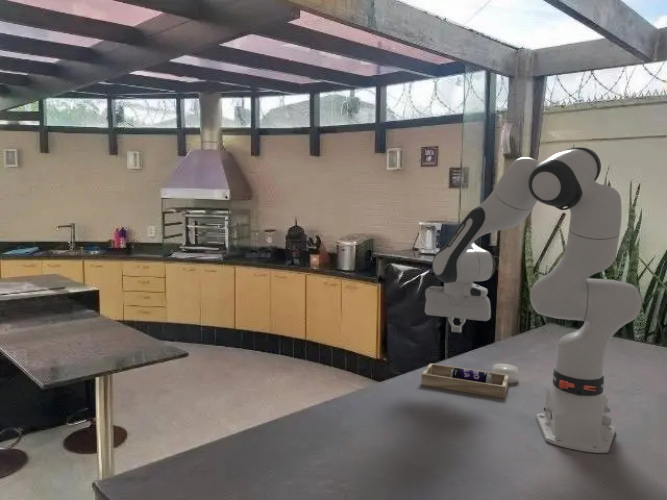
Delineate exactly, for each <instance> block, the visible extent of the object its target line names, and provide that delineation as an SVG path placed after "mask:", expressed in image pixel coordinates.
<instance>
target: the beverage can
mask: <svg viewBox="0 0 667 500" xmlns="http://www.w3.org/2000/svg"><path fill="white" fill-rule="evenodd" d="M461 368H462V367H460V368H454V369H453V370H451V374H450V377H451V378H458V379H464V380H470V381H477V382H483V383H490V384H492V375H490V374H489V373H486V372H480V371H481V370H480V371H473V370H474V369H473V370H467V369H468V368H467V369H461Z"/></svg>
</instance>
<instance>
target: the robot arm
mask: <svg viewBox="0 0 667 500" xmlns="http://www.w3.org/2000/svg"><path fill="white" fill-rule="evenodd" d="M601 171H602V162H601V159H600V157H599V155H598V154H597V153H596V152H595V151H593V150H592V149H590V148H588V147H584V146H576V147H575V146H574V147H570V148H568V149H565V150H564V151H562V152H557V153H555V154H553V155H552V156H549V157H548V158H546V160H544V161H542V162H541V161H539V160H537V159H535V158H532V157H528V156H527V157H526V156H525V157H524V156H523V157H520V158H517V159H515V160H514V161H512V163H510V165H509V166H508V167H507V169H506V170H505V171H504V172H503V174H502V176H501V177H500V179H499V180H498V182H497V183H496V185H495V187H494V189H493V190H492V192H491V193H490V194H489V195H488V196H487V198H486V199H484V201H483V202H482V203H480V204H479V205H478V206H476V207H474V208H473V209H471V211H469V212H468V214H467V215H466V216H465V217H464V219H463V220H462V222H461V223H460V224H459V225H458V227H457V228H456V230H455V231H454V233H452V235H451V237H449V239H448V241H447V242H446V243H445V245H443V246H442V247H441V248H440V249H439V250H438V251H437V252H436V253H435V255H434V256H433V259H432V263H431V267H432V272H433V274H434V275H435V277H436V278H437V279H438V280H440V282H442V283H443V286H435V285H430V286H429V287H427V288H426V289H425V292H424V293H425V294H424V297H425V304H424V313H425V314H426V315H427V316H434V317H435V316H437V317H442V318H443V317H445V318H447V321H448V323H449V325H450V328H451V330H450V331H451V332H452V333H460V334H461V333H462V329H463V328H462V327H463V326H464V324H465V323H466V320H471V321H480V322H481V321H483V322H487V321H489V320H490V319H491V317H492V316H491V315H492V310H491V309H492V308H491V300H490V298H489V297H488V296H487V295H488V293H489V290H488V288H486V287H484V286H481V285H479V284H477V283H474V282H484V281H488V280H490V279H491V278H492V276H493V275H494V273H495V271H496V270H495V268H496V260H495V258H494V255H493V254H492V252H490V251H489V250H486V249H484V248H482V247H480V246H479V245H477V244H476V243H475V241H476V240H477V239H479V238H480V237H483V236H485V235H488V234H489V233H495V232H499V231H503V230H509V229H512V228H515V227H517V226H519V225H520V224H521V223H523V222H524V221H525V220H526V219H527V218H528V217H529V215H530V214H531V212H532V210H533V209H534V207H535V206H536V203H537V202H539V203H541V204H543V205H545V206H546V205H547V206H550V207H554V208H556V209H558V210H560V211H567V210H569V211H570V216H569V217H570V219H569V226H568V234H567V239H566V245H565V249H564V253H563V256H562V258H561V260H560V261H559V263H558V264H557V266H556V267H555V268H553V269H552V270H551V271H550V272H549V273H547V274H544V275H543V276H541V277H540V278H538V279H537V280H536V281H535V282H534V284H533V285H532V287H531V289H530V293H529V300H530V304H531V306H532V308H533V310H534V311H535V312H536V313H537V314H539V315H541V316H544V317H549V318H554V319H559V320H569V321H570V320H572V321H582V322H584V323H583V325H582V326H581V327H580V328H579V329H577V330H575V331H573V332H569V333H567V334H564V335H563V336H562V337H560V339H559V340H558V342H557V345H556V356H555V367H554V368H553V373H552V385H550V386H549V387H547V388H546V390H545V399H544V407H543V412H540V413H536V416H535V419H536V421H537V424H538V426H539V429H540V431H541V433H542V435H543V438H544V440H545V441H546V442H547V443H550V444H553V445H555V446H558V447H561V448H562V447H563V448H565V449H571V450H575V451H580V452H586V453H592V454H593V453H595V454H597V453H598V454H605V453H606V454H607V453H609V452H610V448H611V446H612V443H613V440H614V436H615V434H616V428H615V426H613V425H612V417H611V416H608V413H609V414H610V413H611V407H610V406H609V397H608V396H606V394H604V387H605V386H604V385H605V376H604V375H603V372H604V370H603V369H604V362H605V355H606V351H607V347H608V344H609V342H610V341H611V339H612V338H613V337H614V335H615V334H616V333H617V332H618V331H619V330H620V329H621V328H623V326H625V325H627V324H629V323H631V322H632V321H634V320H635V319H636V318H637V317H638V316H639V314H640V312H641V308H642V297H641V294H640V292H639V291H638V289H637V287H636V286H635V285H634V284H632V283H628V282H624V281H621V280H616V279H608V278H607V279H605V278H592V277H591V276H593V275H595V274H597V273H601V272H604V271H606V270H607V269H608V268H610V267H611V266H612V265H613V263H614V262H615V260H616V258H617V252H618V247H619V239H620V234H621V227H622V213H623V212H622V197H621V195H620V193H619V191H618V190H617V189H616V188H614V187H612V186H609V185H606V184H600V183H598V182H596V181H597V180H598V178H599V176H600V174H601ZM455 318H456V319H459V322H460V324H459V325H456V324H454V320H455Z"/></svg>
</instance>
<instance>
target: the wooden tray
mask: <svg viewBox="0 0 667 500" xmlns="http://www.w3.org/2000/svg"><path fill="white" fill-rule="evenodd" d="M454 368H461V369H467V370H473V371H480V372H486V373H489V374H490V375H492V384H490V383H483V382H477V381H470V380H464V379H458V378H451V377H450V374H451V370H453V369H454ZM508 379H509V375H507V374H500V373H494V372H493V371H486V370H479V369H473V368H464V367H459V366H452V365H446V364H438V363H432V362H431V363H429V364H428V366H427V367H426V368H425V369H424V370H423V372H422V373H421V381H420V382H421V384H420V385H421V386H425V387H426V386H427V387H433V388H437V389H445V390H451V391H458V392H464V393H469V394H473V395H474V394H475V395H481V396H482V395H483V396H487V397H493V398H499V399H505V398H506V396H507V395H506V394H507V390H508V388H509V383H508Z"/></svg>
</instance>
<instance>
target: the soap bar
mask: <svg viewBox="0 0 667 500" xmlns="http://www.w3.org/2000/svg"><path fill="white" fill-rule="evenodd" d="M492 372H494V373H500V374H507V375H509V379H508V384H515V383H517V382H518V381H519V368H518V367H517V366H515V365H512V364H509V363H495V364H493V365H492Z"/></svg>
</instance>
